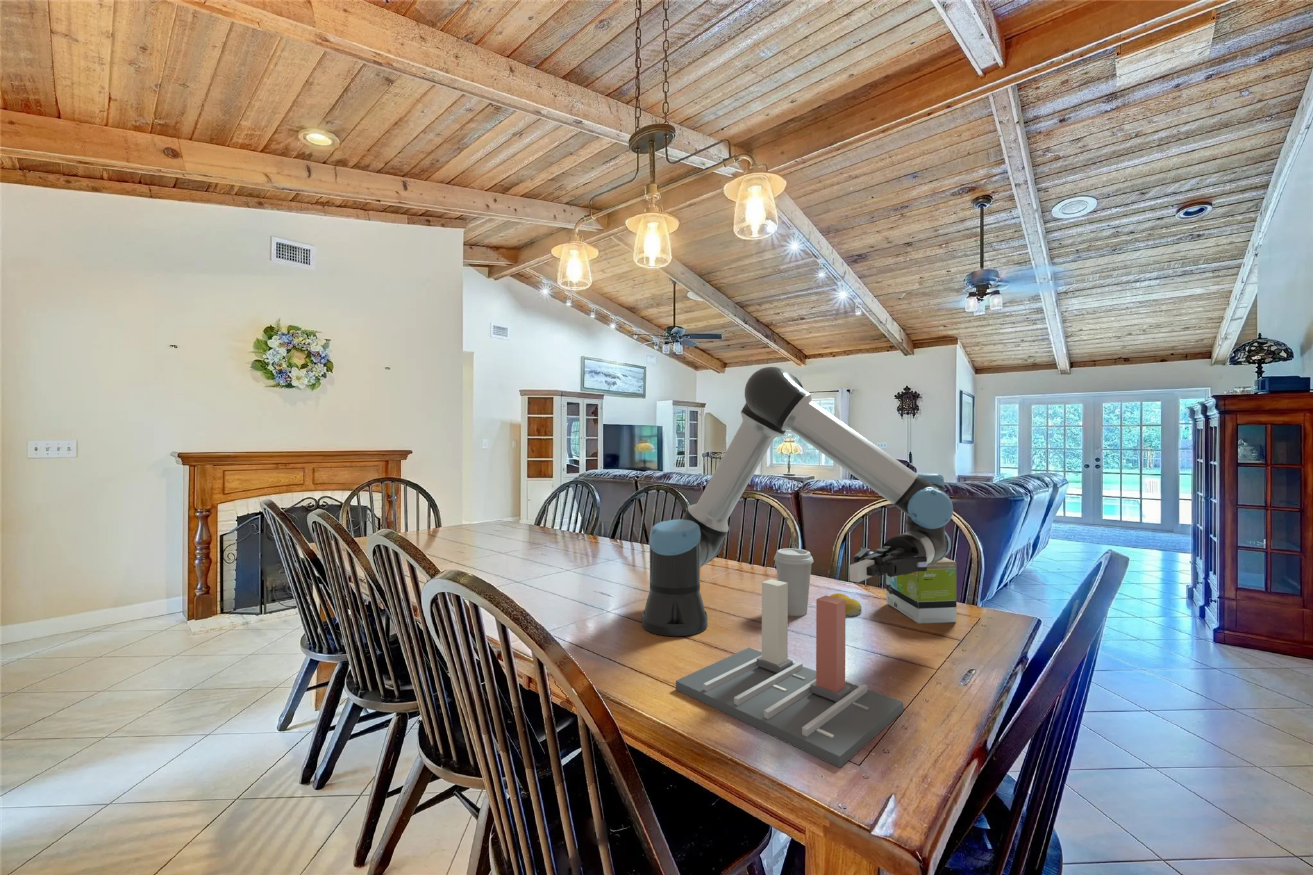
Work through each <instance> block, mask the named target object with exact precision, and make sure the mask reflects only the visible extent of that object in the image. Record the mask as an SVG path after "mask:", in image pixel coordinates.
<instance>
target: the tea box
mask: <svg viewBox="0 0 1313 875" xmlns="http://www.w3.org/2000/svg"><path fill="white" fill-rule="evenodd" d="M957 572H958V571H957V561H955V560H952V559H950V558H947V557H946V556H945V557H944V558H943V559H941V560H939V561H938V562H935V563H932V564H930V565H927V571H917V572H913V573H910V574H903V575H899V576H894V577H889V576H887V573H886V574H885V577H886V578H885V579H886V580H885V589H886V590H885V591H886V596H885V601H886V604H887V605H889V606H891V607H892V608H894V609H896V611H898V612H900V613H902V614H903V615H905V616H906V617H907V618H909V619H911V620H912V621H914V622H915V623H916V624H918V625H919V624H942V623H943V624H945V623H956V622H957V609H958V608H957V600H958V599H957V586H958V585H957V574H958V573H957Z"/></svg>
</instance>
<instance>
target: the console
mask: <svg viewBox="0 0 1313 875" xmlns="http://www.w3.org/2000/svg"><path fill="white" fill-rule="evenodd" d="M761 656H762V651H760V650H757V649H754V648H751V647H747V648H745V649H742V650H740V651H738V652H736V653H733V654H731V655H729V656H727V657H724V658H723V659H722V658H721V659H720V660H718V661H716V662H714V663H711V664H709V665H707V666H705V667H703V668H701V669H699V670H696V671H694V672H692V673H690V674H688V675H685V676H683V677H681V678H679V679H677V680H675V690H676V691H678V692H680V693H683V694H684V695H686V696H689V697H691V698H693V699H695V700H697V701H699V702H701V703H703V704H706V705H707V706H710V707H712V708H713V709H716V710H718V711H720V712H722V713H724V714H727V715H728V716H731V717H733V718H735V719H737V720H739V721H741V722H742V723H746V724H747V725H749V726H751V727H753V728H756V729H757V730H759V731H762V732H763V733H766V734H768V735H770V736H772V737H775V738H776V739H778V740H781V741H783V742H785V743H787V744H790V745H791V746H793V747H795V748H797V749H799V750H802V751H804V752H806V753H808V754H810V755H812V756H814V757H816V758H818V759H820V760H822V761H825V762H827V763H829V764H831V765H833V766H835V767H837V768H839V769H840V768H841V767H843V766H844V765H845V764H846V763H847V762H848V761H849V760H851V758H852V757H854V756H855V755H856V754H857V753H858V752H860V751H861V750H862V748H864V747H865V746H867V744H868V743H870V742H871V740H873V739H874V738H875V737H876V736H877V735H879V733H880V732H882V731H883V730H884V729H885V728H886V727H887V726H888V725H889V724H890V723H892V722H893V721H894V720H896V718H898V716H900V715H901V714H902V713H903V712H904V701H903V700H900V699H896V698H893V697H891V696H889V695H886V694H882V693H880V692H877V691H874V690H871V689H868V685H866V684H861V685H857V684H854V683H851V682H849V681H847V680H845V685H847V686H850V687H851V693H850V694H848V695H847V696H845V697H844V698H843V699H841V700H840V701H838V702H836V701H833V700H831V699H828V698H825V697H823V696H820V695H818V694H815V693H812V692H810V684H812V683H813V682H815V681H816V669H815V670H814V669H812V668H808V667H805V666H803V663H802V662H800V661H798V662H796V663H794V662H793V665H792V666H790V667H789V668H787V669H785V670H783V671H781V672H779V673H776V672H773V671H771V670H768V669H765V668H763V667H760V666H757V658H759V657H761Z"/></svg>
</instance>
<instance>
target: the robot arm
mask: <svg viewBox="0 0 1313 875" xmlns="http://www.w3.org/2000/svg"><path fill="white" fill-rule="evenodd" d="M744 398H745V404H744V405H743V407H742V409H741V411H740V415H741V419H742V422H741V423H740V426H739V428H738V429H737V431H736V433H735V435H734V436H733V438H732V440H731V441H730V444H729V445H728V447H727V449H726V451H725V453H724V454H723V456H722V458H721V459H720V461H719V463H718V465H717V467H716V469H715V471H714V472H713V475H711V478H710V480H709V481H708V483H707V485H706V487H705V488H704V490H703V492H702V493H701V495H700V498H699V499H698V501H697V503H694V504H691V505H688V507H687V509H686V511H685V512H684V514H683V515H682V517H681V519H679V518H678V519H668V520H664V521H663V520H662V521H660V522H657V523H656V524H654V525H653V526H652V527H651V529H650V532H649V533H650V534H649V540H648V545H649V593H648V596H647V599H646V603H645V606H644V610H643V611H642V616H641V625H642V628H643V629H644V630H646V631H647V632H649V633H652V634H655V635H659V636H667V637H687V636H692V635H697V634H699V633H702V632H704V631H705V630H707V628H708V627H709V626H708V623H709V622H708V618H709V617H708V614H707V611H706V610H705V606H704V602H703V597H702V594H701V568H702V567H703V566H704V565H705V564H707V563H710V562H712V561H713V560H714V559H715V558H716V557H717V556H718V555H719V553H720V552H721V549H722V546H723V544H724V542H723V541H724V539H725V537H726V535H727V533H728V531H729V530H730V527H729V524H728V520H729V517H730V516H731V514H732V512H733V510H734V509H735V507H736V505H737V503H738V502H739V500H740V498H741V497H742V495H743V493H744V492H745V490H746V488H747V486H748V484H749V483H750V481H751V479H752V478H753V476H754V475H755V473H756V471H757V469H758V467H759V465H761V463H762V460H763V459H764V456H765V455H766V453H767V452H768V450H769V449H770V447H771V444H773V441H774V440H775V439H776V438H779V437H782V436H784V435H785V433H786V431H791V432H793V433H794V434H795V435H796V436H797V437H800V438H801V440H804V441H805V442H806V443H807V444H809V445H810V446H812V447H813V448H815V449H816V450H817V451H819V452H820V453H821V454H823V455H824V456H825V457H827V458H828V459H830V460H831V461H833V462H834V463H835V464H837V465H838V466H839V467H841V468H842V469H844V471H846V472H848V473H849V474H850V475H852V476H853V477H855V478H856V479H858V481H860V482H862V483H863V484H865V485H866V486H867V487H869V488H870V489H872V490H873V491H874V492H875V493H876V494H878V495H880V496H881V497H883V498H884V499H885V500H887V501H888V502H890V503H891V504H892V505H893V506H895V507H896V508H897V509H899V510H900V511H901V512H903V513H904V514H905V532H904V533H901V534H898V535H895V536H892V537H890V538H887V540H886V541H885V542H884V544H883V545H882V547H881V548H875V549H874V550H873V551H871V549H870V548H869V549H868V548H867V547H865V546H864V547H860V548H859V551H858V552H857V553H856V554H855V555H854V556H853V563H851V564H850V565H849V581H850V582H853V583H854V582H855V583H860V582H862V581H865V580H867V579H870V578H872V577H875V576H878V577H881V576H884V575H886V573H887V576H889V577H894V576H899V575H903V574H910V573H913V572H917V571H927V565H930V564H932V563H935V562H938V561H939V560H941V559H943V558H944V557H945V558H946V556H947V555H948V554H949V552H950V550H951V547H952V541H951V538H950V536H949V534H948V532H946V529H945V528H946V527H945V526H946V525H947V524H948V523H949V522H950V520H951V519H952V518H953V517H952V516H953V515H954V506H953V501H952V499H951V498H950V495H949V494H947V493H946V492H945V489H946V486H945V478H944V476H943V474H941V473H936V472H915V471H913V470H912V469H911V468H909V467H907V465H905V464H904V463H902V462H901V461H899V460H898V459H896V458H895V457H893V456H892V455H890V454H889V453H888V452H886V451H885V450H883V449H882V448H880V447H879V446H878V445H876V444H874V443H873V442H872V441H870V440H869V439H867V438H866V437H865V436H863V435H862V434H860V433H859V432H857V431H856V430H855V429H854V428H852V427H850V426H848V425H847V424H846V423H844V422H843V421H841V419H838V418H837V417H836V416H834V415H833V414H832V413H830V412H829V411H827V410H826V409H825V408H823V407H821V406H820V405H818V404H817V403H816V402H814V401H813V398H812V394H811V393H810V392H809V391H807V390H806V389H804V386H803V384H802V382H800V380H799V379H798V378H797V377H796V376H795V375H793V374H792V373H789V372H787V371H786V370H785V369H783V368H780V367H776V366H765V367H762V368H760V369H757V371H755V372H753V373H752V375H751V376H750V377H749V378H748V380H747V382H746V384H745V387H744Z"/></svg>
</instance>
